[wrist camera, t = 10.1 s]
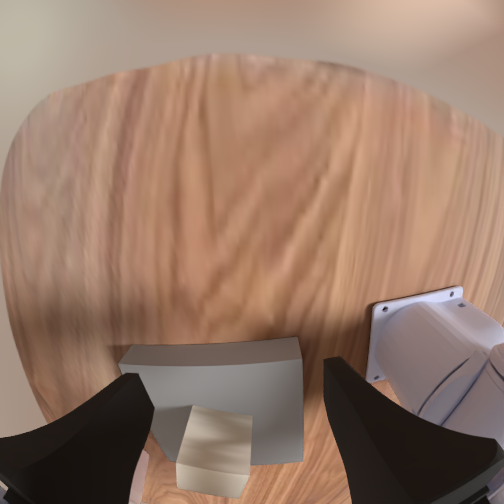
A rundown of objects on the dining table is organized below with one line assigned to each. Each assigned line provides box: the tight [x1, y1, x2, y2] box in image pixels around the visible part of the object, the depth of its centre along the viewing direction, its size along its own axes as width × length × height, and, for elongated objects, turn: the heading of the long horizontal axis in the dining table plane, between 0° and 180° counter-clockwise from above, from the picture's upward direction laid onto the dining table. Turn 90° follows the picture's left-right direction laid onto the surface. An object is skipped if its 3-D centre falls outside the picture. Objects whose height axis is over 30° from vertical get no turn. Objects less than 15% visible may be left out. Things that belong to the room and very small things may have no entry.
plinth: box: [118, 337, 304, 465], centre depth 21 cm, size 14×14×3 cm
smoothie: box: [129, 450, 149, 504], centre depth 19 cm, size 6×6×14 cm
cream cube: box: [176, 405, 253, 499], centre depth 16 cm, size 5×5×6 cm
